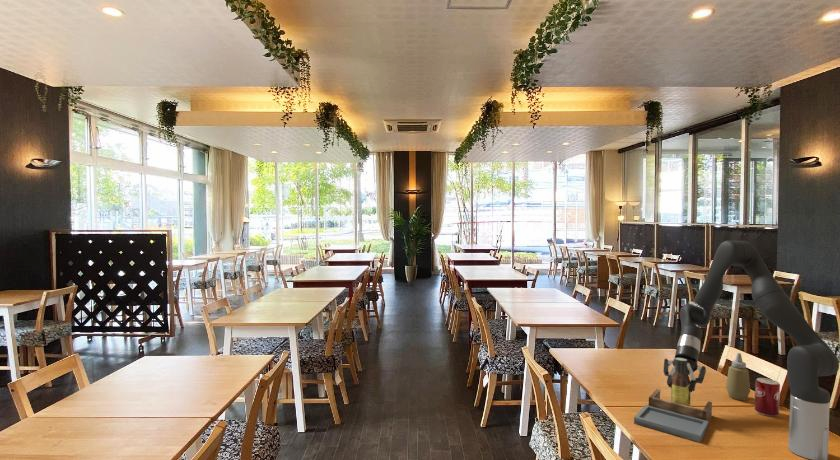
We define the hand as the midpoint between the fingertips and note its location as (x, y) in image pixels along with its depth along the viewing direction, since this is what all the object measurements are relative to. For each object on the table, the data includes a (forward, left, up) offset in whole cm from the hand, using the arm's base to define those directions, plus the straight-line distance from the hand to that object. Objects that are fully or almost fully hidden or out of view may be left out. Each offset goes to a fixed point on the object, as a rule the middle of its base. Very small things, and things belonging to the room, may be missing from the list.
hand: (680, 388), depth 168 cm
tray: (0, +13, -9) cm, 16 cm away
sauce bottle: (0, -1, -10) cm, 10 cm away
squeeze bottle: (-14, -33, -10) cm, 37 cm away
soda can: (-24, -23, -10) cm, 35 cm away
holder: (0, -1, -9) cm, 9 cm away
